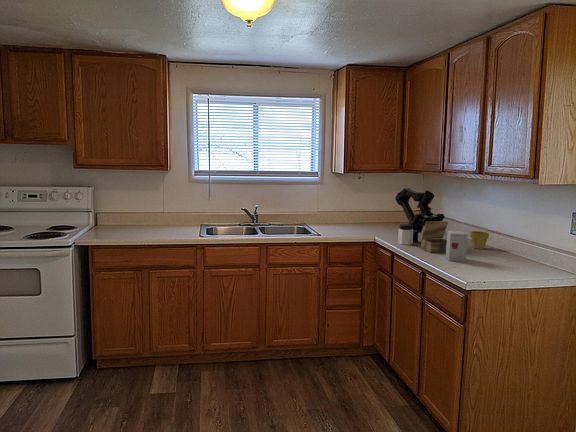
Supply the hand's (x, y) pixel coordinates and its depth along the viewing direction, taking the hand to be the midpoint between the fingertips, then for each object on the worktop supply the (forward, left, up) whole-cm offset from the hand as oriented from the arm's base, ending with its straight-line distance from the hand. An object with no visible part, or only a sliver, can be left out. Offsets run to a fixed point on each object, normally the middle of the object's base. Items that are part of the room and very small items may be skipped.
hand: (433, 229), depth 289 cm
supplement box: (+29, +8, -12) cm, 32 cm away
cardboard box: (+5, +2, -12) cm, 13 cm away
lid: (+2, +1, 0) cm, 2 cm away
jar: (-14, -14, -12) cm, 23 cm away
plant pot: (-8, +29, -12) cm, 32 cm away
